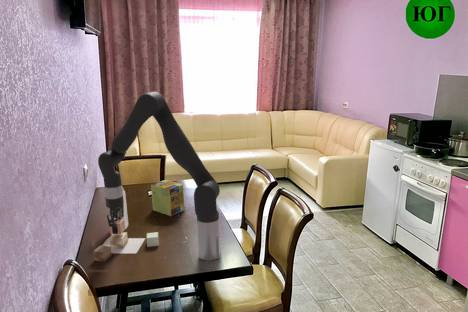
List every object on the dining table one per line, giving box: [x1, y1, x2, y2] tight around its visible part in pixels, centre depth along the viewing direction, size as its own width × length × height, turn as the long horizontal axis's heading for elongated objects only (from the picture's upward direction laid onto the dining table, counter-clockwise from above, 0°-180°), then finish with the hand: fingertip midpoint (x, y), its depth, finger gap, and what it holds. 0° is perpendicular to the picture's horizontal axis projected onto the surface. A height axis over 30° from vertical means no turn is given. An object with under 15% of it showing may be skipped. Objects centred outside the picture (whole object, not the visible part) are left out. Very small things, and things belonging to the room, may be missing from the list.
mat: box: [101, 237, 146, 254], centre depth 167 cm, size 18×14×1 cm
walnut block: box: [92, 245, 113, 263], centre depth 156 cm, size 5×5×5 cm
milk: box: [114, 186, 129, 230], centre depth 183 cm, size 6×6×22 cm
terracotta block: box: [108, 219, 126, 235], centre depth 164 cm, size 5×5×5 cm
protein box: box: [150, 179, 185, 217], centre depth 205 cm, size 10×15×16 cm
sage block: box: [146, 231, 160, 248], centre depth 167 cm, size 5×5×5 cm
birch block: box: [108, 231, 128, 249], centre depth 166 cm, size 6×6×5 cm
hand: (117, 230), depth 165 cm, fingers closed on terracotta block, 5 cm apart
